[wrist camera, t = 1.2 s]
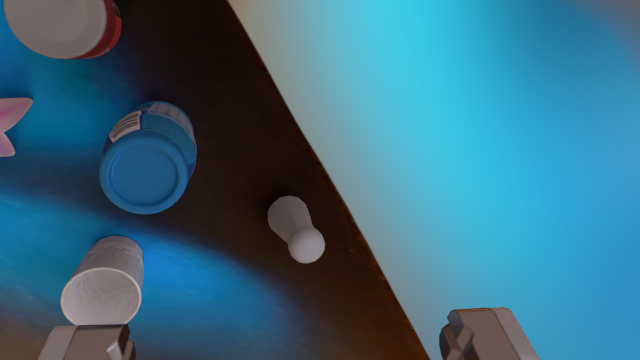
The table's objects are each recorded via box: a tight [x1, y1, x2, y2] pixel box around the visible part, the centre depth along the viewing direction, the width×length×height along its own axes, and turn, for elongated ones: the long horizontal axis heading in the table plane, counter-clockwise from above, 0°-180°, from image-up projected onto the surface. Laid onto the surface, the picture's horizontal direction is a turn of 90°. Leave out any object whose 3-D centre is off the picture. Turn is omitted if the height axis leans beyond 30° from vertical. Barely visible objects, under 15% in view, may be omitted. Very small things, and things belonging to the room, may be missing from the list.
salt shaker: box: [268, 196, 325, 263], centre depth 53 cm, size 6×6×13 cm
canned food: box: [3, 0, 122, 59], centre depth 40 cm, size 8×8×11 cm
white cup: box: [61, 236, 144, 325], centre depth 49 cm, size 8×8×10 cm
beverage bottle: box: [99, 101, 197, 214], centre depth 42 cm, size 8×8×20 cm
